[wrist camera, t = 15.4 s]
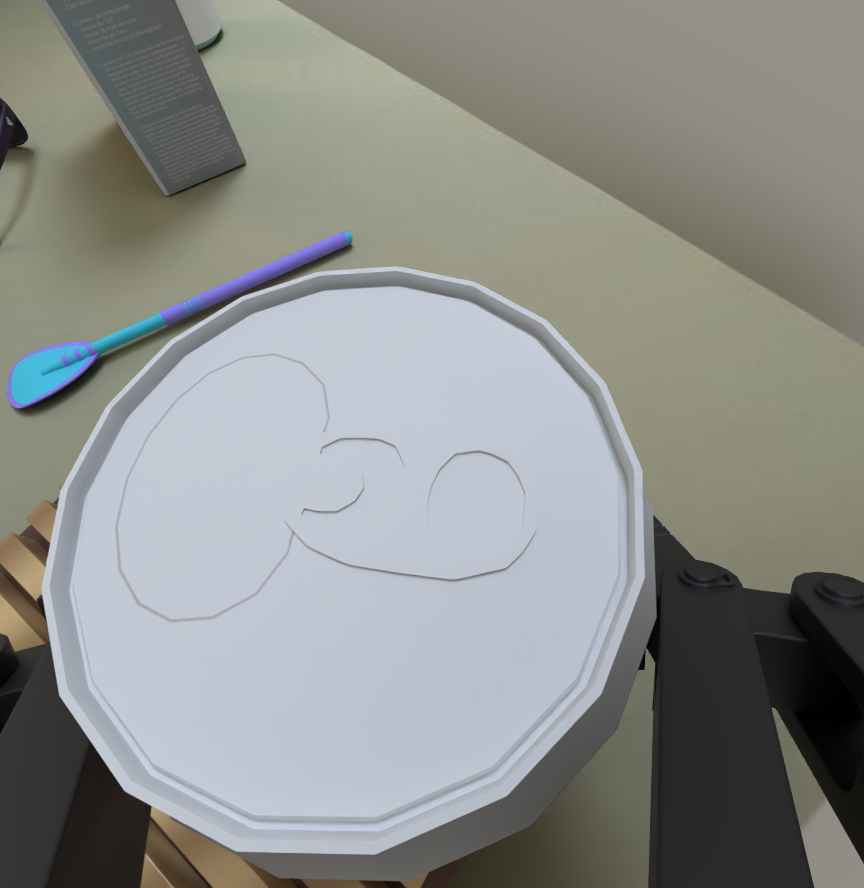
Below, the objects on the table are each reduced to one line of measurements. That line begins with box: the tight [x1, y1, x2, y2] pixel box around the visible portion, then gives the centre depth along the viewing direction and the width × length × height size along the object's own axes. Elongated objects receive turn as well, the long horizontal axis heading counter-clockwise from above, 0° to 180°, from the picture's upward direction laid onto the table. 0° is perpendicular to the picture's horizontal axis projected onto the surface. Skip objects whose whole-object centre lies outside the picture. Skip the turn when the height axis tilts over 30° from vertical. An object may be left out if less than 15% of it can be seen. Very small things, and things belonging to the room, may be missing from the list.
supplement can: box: [41, 266, 657, 881], centre depth 12 cm, size 8×8×15 cm
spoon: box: [7, 231, 352, 408], centre depth 32 cm, size 25×4×1 cm, turn 123°
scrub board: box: [0, 480, 467, 888], centre depth 22 cm, size 26×20×3 cm
